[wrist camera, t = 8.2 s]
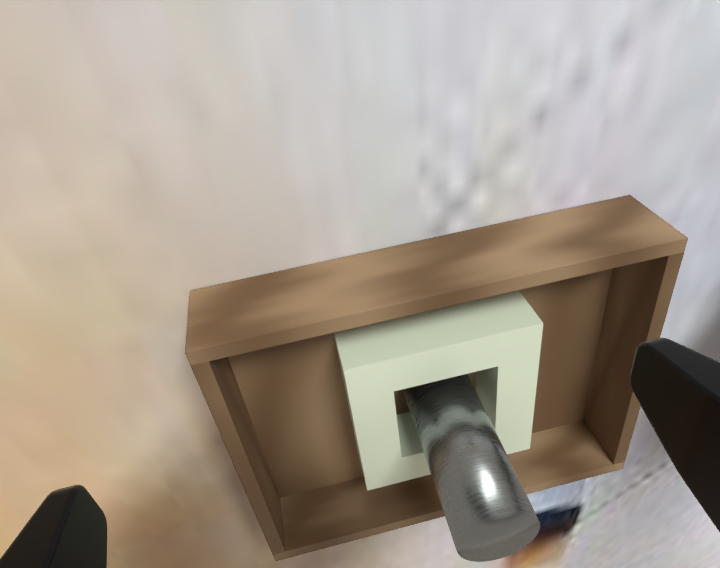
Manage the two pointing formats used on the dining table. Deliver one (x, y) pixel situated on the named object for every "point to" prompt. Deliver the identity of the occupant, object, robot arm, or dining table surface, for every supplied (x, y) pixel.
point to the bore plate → (439, 376)
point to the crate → (330, 406)
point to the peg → (471, 471)
